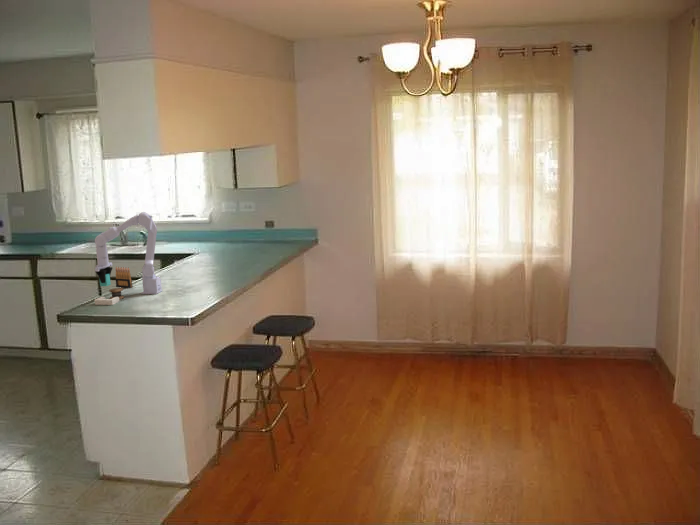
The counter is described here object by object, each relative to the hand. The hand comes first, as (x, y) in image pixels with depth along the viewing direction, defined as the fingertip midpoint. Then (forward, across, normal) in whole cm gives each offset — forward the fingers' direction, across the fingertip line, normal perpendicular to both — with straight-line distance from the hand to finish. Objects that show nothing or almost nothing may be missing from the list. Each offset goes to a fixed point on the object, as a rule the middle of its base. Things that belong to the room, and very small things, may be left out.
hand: (105, 281), depth 375 cm
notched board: (+8, +13, +8) cm, 17 cm away
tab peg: (+2, 0, 0) cm, 2 cm away
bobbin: (+8, +3, +8) cm, 12 cm away
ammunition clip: (+9, -22, -2) cm, 24 cm away
